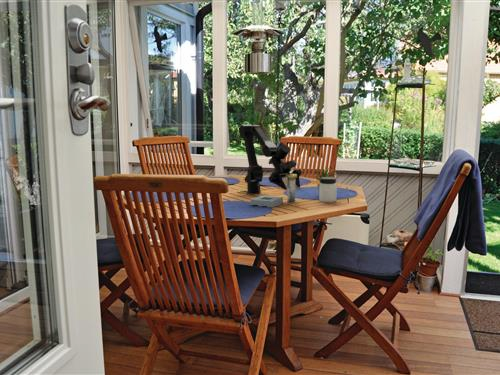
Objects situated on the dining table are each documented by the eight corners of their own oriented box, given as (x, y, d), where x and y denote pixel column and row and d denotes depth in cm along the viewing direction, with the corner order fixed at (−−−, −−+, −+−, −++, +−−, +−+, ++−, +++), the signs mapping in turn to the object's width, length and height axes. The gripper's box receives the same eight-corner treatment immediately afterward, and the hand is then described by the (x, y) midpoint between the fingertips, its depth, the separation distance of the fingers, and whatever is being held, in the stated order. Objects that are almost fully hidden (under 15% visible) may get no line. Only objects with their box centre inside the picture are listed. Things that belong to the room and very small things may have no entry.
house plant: (326, 199, 250) (327, 168, 248) (305, 196, 260) (305, 166, 257) (341, 195, 261) (341, 165, 258) (320, 192, 270) (320, 164, 267)
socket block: (250, 205, 237) (250, 199, 236) (261, 201, 247) (261, 195, 247) (272, 207, 231) (272, 201, 231) (282, 203, 241) (282, 197, 241)
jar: (317, 201, 244) (317, 178, 242) (320, 198, 252) (321, 176, 250) (334, 202, 241) (335, 179, 239) (337, 200, 249) (338, 177, 247)
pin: (284, 201, 245) (284, 174, 242) (288, 200, 249) (288, 173, 247) (294, 202, 242) (294, 175, 240) (298, 201, 247) (298, 174, 244)
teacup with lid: (296, 185, 296) (296, 167, 294) (298, 188, 287) (298, 168, 285) (277, 186, 295) (277, 167, 293) (278, 188, 286) (278, 169, 284)
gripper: (271, 156, 240) (286, 180, 233) (299, 153, 251) (314, 176, 243) (262, 170, 247) (276, 194, 240) (290, 167, 258) (303, 190, 251)
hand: (293, 188), depth 244 cm, fingers open, 9 cm apart
